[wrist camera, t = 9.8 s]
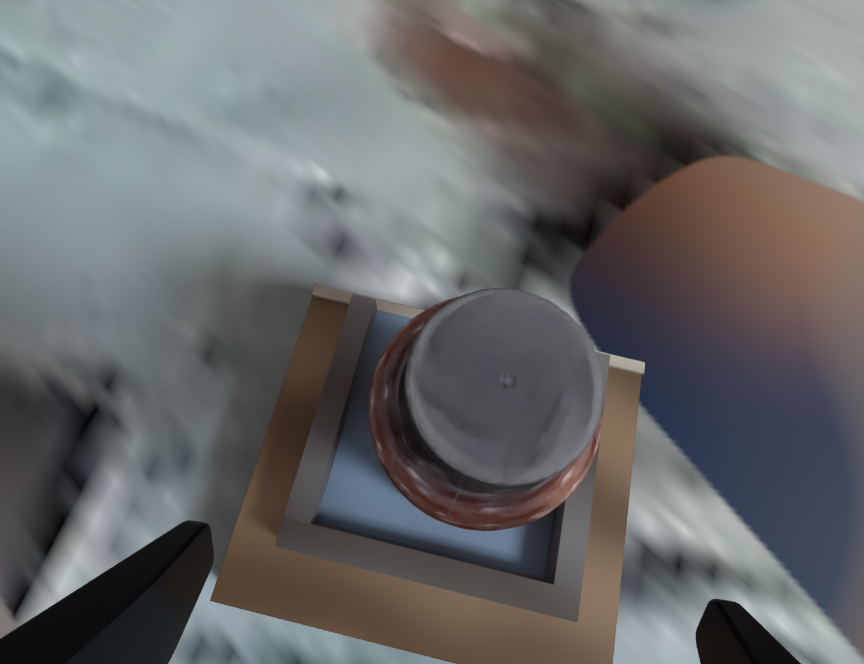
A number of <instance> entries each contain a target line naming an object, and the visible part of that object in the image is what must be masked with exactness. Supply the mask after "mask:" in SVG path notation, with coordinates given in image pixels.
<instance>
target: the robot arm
mask: <svg viewBox="0 0 864 664" xmlns="http://www.w3.org/2000/svg"><path fill="white" fill-rule="evenodd" d="M213 559H214V553H213V544H212V536H211V529H210V526H209V525H208V524H207V523H204V522H198V521H190V520H189V521H185V522H183V523H181V524H179V525H178V526H176V527H175V528H173V529H171V530H170V531H168V532H167V533H165V534H164V535H162V536H160V537H159V538H157V539H156V540H154V541H153V542H151V543H149V544H148V545H146V546H145V547H143V548H142V549H140V550H139V551H137V552H135V553H134V554H132V555H131V556H129V557H128V558H126V559H124V560H123V561H121V562H120V563H118V564H117V565H115V566H113V567H112V568H110V569H109V570H107V571H106V572H104V573H103V574H101V575H99V576H98V577H96V578H95V579H93V580H92V581H90V582H88V583H87V584H85V585H84V586H82V587H81V588H79V589H77V590H76V591H74V592H73V593H71V594H70V595H68V596H66V597H65V598H63V599H62V600H60V601H59V602H57V603H56V604H54V605H52V606H51V607H49V608H48V609H46V610H45V611H43V612H41V613H40V614H38V615H37V616H35V617H34V618H32V619H30V620H29V621H27V622H26V623H24V624H23V625H21V626H20V627H18V628H16V629H15V630H13V631H12V632H10V633H9V634H7V635H5V636H4V637H2V638H1V639H0V664H168V663H169V661H170V659H171V657H172V655H173V653H174V651H175V649H176V647H177V645H178V642H179V640H180V638H181V636H182V634H183V631H184V629H185V627H186V624H187V622H188V620H189V618H190V615H191V613H192V611H193V609H194V606H195V604H196V602H197V600H198V597H199V595H200V593H201V590H202V588H203V586H204V584H205V581H206V579H207V577H208V575H209V572H210V570H211V567H212V564H213ZM696 645H697V649H698V654H699V658H700V663H701V664H801V663H800V662H799V661H798V660H797V659H796V658H795V657H793V656H792V655H791V654H790V653H789V652H788V651H787V650H786V649H785V648H784V647H783V646H782V645H781V644H780V643H779V642H778V641H777V640H776V639H775V638H774V637H773V636H772V635H771V634H770V633H769V632H768V631H767V630H766V629H765V628H764V627H763V626H762V625H761V624H760V623H759V622H758V621H757V620H755V619H754V618H753V617H752V616H751V615H750V614H749V613H748V612H747V611H746V610H745V609H744V608H743V607H742V606H741V605H740V604H738V603H736V602H733V601H727V600H721V599H712V600H711V601H709V603H708V604H707V607H706V609H705V611H704V613H703V616H702V618H701V620H700V623H699V625H698V627H697V630H696Z"/></svg>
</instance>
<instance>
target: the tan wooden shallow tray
mask: <svg viewBox="0 0 864 664" xmlns="http://www.w3.org/2000/svg"><path fill="white" fill-rule="evenodd" d="M312 296H313V297H312V300H311V303H310V306H309V309H308V312H307V315H306V318H305V321H304V324H303V327H302V330H301V333H300V336H299V339H298V341H297V344H296V347H295V350H294V353H293V356H292V359H291V362H290V365H289V368H288V371H287V374H286V377H285V380H284V383H283V386H282V389H281V392H280V395H279V398H278V401H277V404H276V407H275V410H274V413H273V416H272V419H271V421H270V424H269V427H268V430H267V433H266V436H265V439H264V442H263V445H262V448H261V451H260V454H259V457H258V460H257V463H256V466H255V469H254V472H253V475H252V478H251V481H250V484H249V487H248V490H247V493H246V496H245V499H244V501H243V504H242V507H241V510H240V513H239V516H238V519H237V522H236V525H235V528H234V531H233V534H232V537H231V540H230V543H229V546H228V549H227V552H226V555H225V558H224V561H223V564H222V567H221V570H220V573H219V576H218V579H217V581H216V584H215V587H214V590H213V593H212V596H211V599H210V601H213V602H217V603H220V604H224V605H228V606H232V607H236V608H240V609H244V610H248V611H252V612H256V613H260V614H264V615H268V616H271V617H275V618H279V619H283V620H287V621H291V622H295V623H299V624H303V625H307V626H311V627H315V628H319V629H322V630H326V631H330V632H334V633H338V634H342V635H346V636H350V637H354V638H358V639H362V640H366V641H370V642H373V643H377V644H381V645H385V646H389V647H393V648H397V649H401V650H405V651H409V652H413V653H417V654H421V655H424V656H428V657H432V658H436V659H440V660H444V661H448V662H452V663H456V664H613V654H614V644H615V634H616V624H617V614H618V604H619V594H620V584H621V574H622V564H623V554H624V544H625V534H626V524H627V514H628V504H629V494H630V484H631V474H632V464H633V454H634V444H635V434H636V424H637V414H638V404H639V393H640V384H641V375H642V374H644V368H645V363H644V362H640V361H636V360H632V359H628V358H623V357H619V356H615V355H611V354H606V353H602V352H598V351H595V352H596V353H597V356H598V360H599V363H600V366H601V370H602V374H603V384H604V401H603V409H602V413H601V421H602V423H601V433H600V440H599V444H598V449H597V451H596V454H595V457H594V459H593V462H592V464H591V466H590V468H589V470H588V472H587V474H586V476H585V478H584V479H583V480H582V482H581V483H580V484H579V486H578V487H577V488H576V490H575V491H574V492H573V493H572V495H571V496H570V497H569V498H567V499H566V500H565V501H564V502H563V503H562V504H561V505H560V506H558V507H557V508H555V509H554V510H553V511H551V512H550V513H548V514H547V515H545V516H543V517H542V518H539V519H537V520H534V521H532V522H530V523H527V524H524V525H522V526H518V527H514V528H509V529H504V530H496V531H475V530H466V529H462V528H458V527H455V526H451V525H448V524H446V523H443V522H440V521H438V520H436V519H433V518H432V517H430V516H428V515H426V514H425V513H423V512H422V511H420V510H419V509H417V508H416V507H415V506H413V505H412V504H411V503H410V502H409V501H408V500H407V499H406V498H405V497H404V496H403V495H402V494H401V493H400V492H399V491H398V490H397V489H396V488H395V486H394V485H393V484H392V482H391V480H390V479H389V478H388V476H387V474H386V473H385V471H384V470H383V468H382V466H381V464H380V462H379V460H378V457H377V454H376V452H375V449H374V446H373V442H372V438H371V434H370V428H369V409H368V408H369V393H370V387H371V383H372V378H373V374H374V371H375V369H376V366H377V364H378V362H379V360H380V357H381V356H382V354H383V352H384V350H385V349H386V348H387V346H388V344H389V342H390V341H391V340H392V339H393V338H394V336H395V335H396V334H397V333H398V332H399V330H400V329H401V328H402V327H403V326H405V325H406V324H407V323H408V322H409V321H410V320H411V319H413V318H414V317H415V316H417V315H418V314H420V313H421V312H423V311H425V310H422V309H417V308H413V307H409V306H405V305H401V304H396V303H392V302H388V301H384V300H380V299H375V298H371V297H367V296H363V295H359V294H354V293H350V292H346V291H342V290H338V289H333V288H329V287H325V286H321V285H317V284H315V286H314V289H313V292H312Z"/></svg>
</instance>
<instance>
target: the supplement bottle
mask: <svg viewBox="0 0 864 664" xmlns="http://www.w3.org/2000/svg"><path fill="white" fill-rule="evenodd" d="M603 401H604V384H603V374H602V370H601V366H600V363H599V360H598V356H597V353H596V352H595V350H594V348H593V345H592V343H591V341H590V339H589V337H588V336H587V335H586V333H585V332H584V331H583V329H582V328H581V327H580V326H579V325H578V324H577V323H576V322H575V321H574V320H573V319H572V318H571V316H570V315H569V314H568V313H566V312H565V311H563V310H562V309H560V308H559V307H558V306H557V305H555V304H553V303H552V302H550V301H548V300H546V299H544V298H542V297H539V296H537V295H535V294H532V293H528V292H525V291H521V290H514V289H505V288H491V289H483V290H478V291H475V292H472V293H468V294H465V295H463V296H461V297H456V298H454V299H450V300H447V301H444V302H442V303H439V304H436V305H434V306H432V307H430V308H429V309H427V310H425V311H423V312H421V313H420V314H418V315H417V316H415V317H414V318H413V319H411V320H410V321H409V322H408V323H407V324H406V325H405V326H403V327H402V328H401V329H400V330H399V332H398V333H397V334H396V335H395V336H394V338H393V339H392V340H391V341H390V342H389V344H388V346H387V348H386V349H385V350H384V352H383V354H382V356H381V357H380V360H379V362H378V364H377V366H376V369H375V371H374V374H373V378H372V383H371V387H370V393H369V408H368V409H369V428H370V434H371V438H372V442H373V446H374V449H375V452H376V454H377V457H378V460H379V462H380V464H381V466H382V468H383V470H384V471H385V473H386V474H387V476H388V478H389V479H390V480H391V482H392V484H393V485H394V486H395V488H396V489H397V490H398V491H399V492H400V493H401V494H402V495H403V496H404V497H405V498H406V499H407V500H408V501H409V502H410V503H411V504H412V505H413V506H415V507H416V508H417V509H419V510H420V511H422V512H423V513H425V514H426V515H428V516H430V517H432V518H433V519H436V520H438V521H440V522H443V523H446V524H448V525H451V526H455V527H458V528H462V529H466V530H475V531H496V530H504V529H509V528H514V527H518V526H522V525H524V524H527V523H530V522H532V521H534V520H537V519H539V518H542V517H543V516H545V515H547V514H548V513H550V512H551V511H553V510H554V509H555V508H557V507H558V506H560V505H561V504H562V503H563V502H564V501H565V500H566V499H567V498H569V497H570V496H571V495H572V493H573V492H574V491H575V490H576V488H577V487H578V486H579V484H580V483H581V482H582V480H583V479H584V478H585V476H586V474H587V472H588V470H589V468H590V466H591V464H592V462H593V459H594V457H595V454H596V451H597V449H598V444H599V440H600V433H601V423H602V421H601V413H602V409H603Z"/></svg>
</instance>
